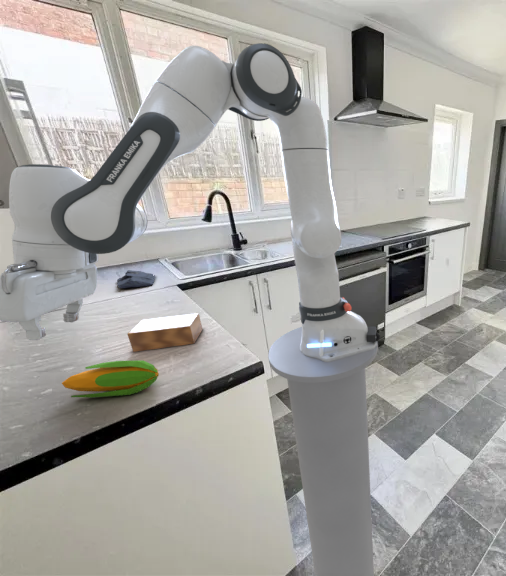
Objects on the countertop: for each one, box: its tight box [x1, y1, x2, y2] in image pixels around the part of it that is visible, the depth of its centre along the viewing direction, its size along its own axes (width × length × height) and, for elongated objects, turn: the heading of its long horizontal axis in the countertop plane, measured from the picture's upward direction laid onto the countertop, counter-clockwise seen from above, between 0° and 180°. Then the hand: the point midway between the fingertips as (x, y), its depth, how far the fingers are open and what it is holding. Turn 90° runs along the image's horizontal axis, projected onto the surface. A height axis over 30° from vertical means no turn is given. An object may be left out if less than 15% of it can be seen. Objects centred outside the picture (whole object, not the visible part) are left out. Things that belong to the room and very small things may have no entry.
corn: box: [61, 359, 160, 399], centre depth 72 cm, size 7×8×20 cm
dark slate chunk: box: [116, 269, 156, 289], centre depth 151 cm, size 15×22×5 cm
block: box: [126, 312, 203, 353], centre depth 95 cm, size 16×10×6 cm, turn 106°
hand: (55, 329), depth 58 cm, fingers open, 8 cm apart
